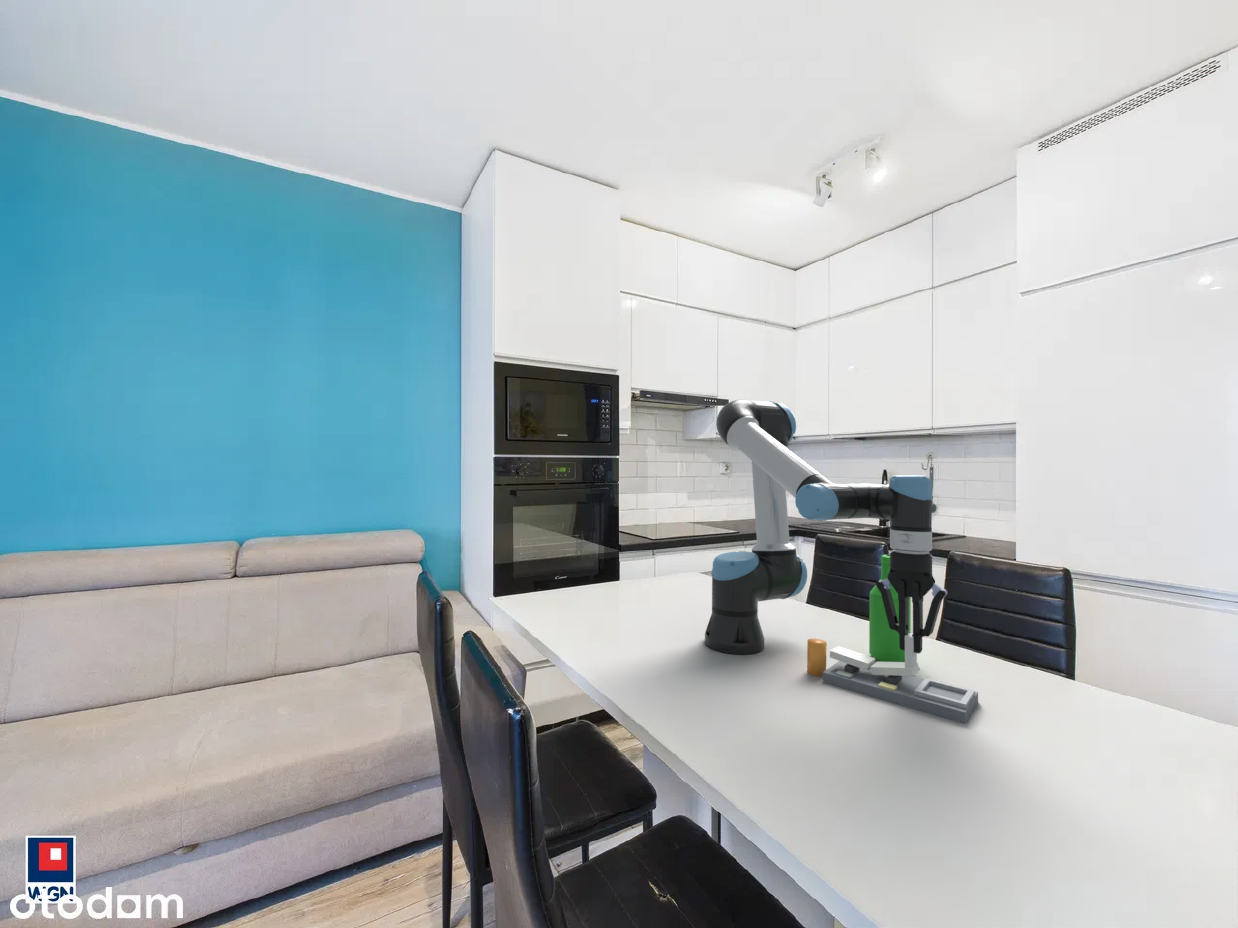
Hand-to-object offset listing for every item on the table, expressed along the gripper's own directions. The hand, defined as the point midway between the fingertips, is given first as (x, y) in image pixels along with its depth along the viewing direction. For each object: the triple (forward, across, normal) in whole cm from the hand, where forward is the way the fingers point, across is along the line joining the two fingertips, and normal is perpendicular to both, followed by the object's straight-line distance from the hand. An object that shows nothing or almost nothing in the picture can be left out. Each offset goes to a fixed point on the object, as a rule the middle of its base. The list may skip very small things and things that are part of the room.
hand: (910, 667), depth 106 cm
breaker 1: (+1, -12, 0) cm, 12 cm away
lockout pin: (+6, -19, -2) cm, 20 cm away
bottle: (+6, -10, +19) cm, 22 cm away
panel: (+6, -3, 0) cm, 6 cm away
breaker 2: (+1, -3, 0) cm, 3 cm away
